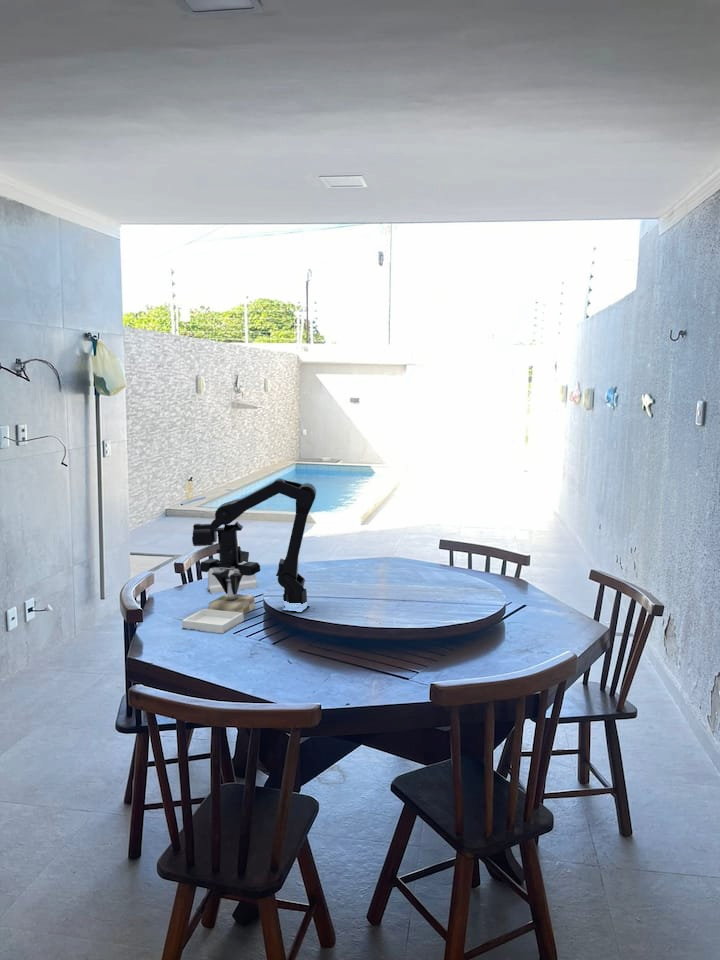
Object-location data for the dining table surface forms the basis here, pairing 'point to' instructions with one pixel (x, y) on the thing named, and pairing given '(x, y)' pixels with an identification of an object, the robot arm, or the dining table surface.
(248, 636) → the dining table surface
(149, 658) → the dining table surface
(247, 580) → the hinge
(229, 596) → the pin
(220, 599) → the block
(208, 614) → the tray
